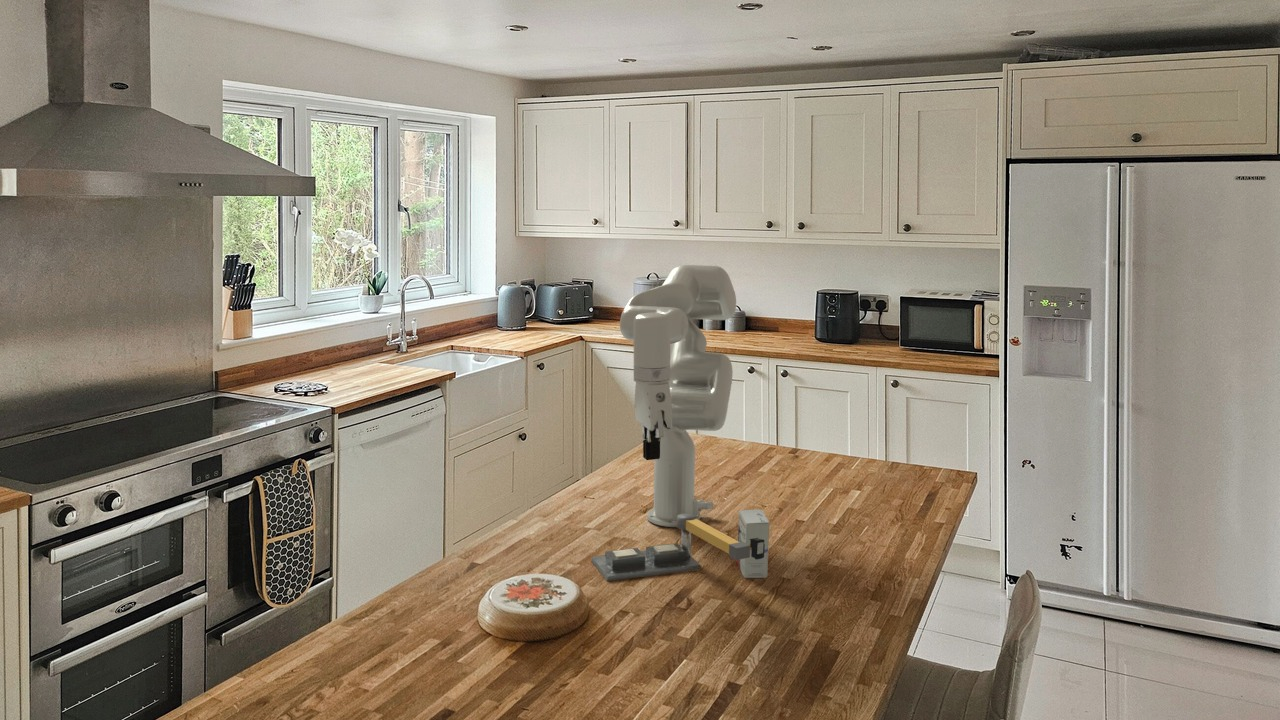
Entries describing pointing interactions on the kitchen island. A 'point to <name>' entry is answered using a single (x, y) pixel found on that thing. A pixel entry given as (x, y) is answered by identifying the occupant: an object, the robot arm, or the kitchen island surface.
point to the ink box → (754, 542)
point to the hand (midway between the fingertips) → (651, 458)
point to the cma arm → (713, 536)
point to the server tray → (647, 560)
